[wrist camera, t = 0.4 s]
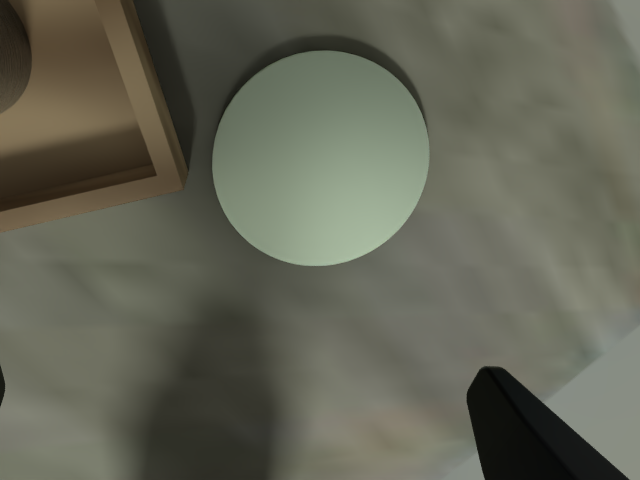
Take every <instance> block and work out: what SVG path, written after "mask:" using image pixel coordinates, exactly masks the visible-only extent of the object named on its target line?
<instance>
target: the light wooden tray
mask: <svg viewBox="0 0 640 480" xmlns="http://www.w3.org/2000/svg"><path fill="white" fill-rule="evenodd" d="M8 1H9V2H10V4H11V5H12V7H13V8H14V9H15V11H16V12H17V14H18V16H19V18H20V19H21V21H22V23H23V25H24V28H25V30H26V33H27V35H28V39H29V43H30V47H31V54H32V68H31V75H30V79H29V82H28V85H27V87H26V89H25V91H24V93H23V94H22V96H21V97H20V98H19V100H18V101H17V102H16V103H15V104H14V105H13V106H12V107H10V108H9V109H8V110H6V111H5V112H3V113H1V114H0V233H1V232H5V231H9V230H14V229H18V228H22V227H26V226H31V225H35V224H39V223H44V222H48V221H52V220H56V219H61V218H65V217H69V216H74V215H78V214H82V213H86V212H91V211H95V210H99V209H103V208H108V207H112V206H116V205H121V204H125V203H129V202H133V201H138V200H142V199H146V198H151V197H155V196H159V195H163V194H168V193H172V192H176V191H181V190H184V186H185V183H186V179H187V176H188V168H187V165H186V162H185V159H184V156H183V153H182V150H181V147H180V144H179V141H178V138H177V135H176V132H175V129H174V125H173V122H172V119H171V116H170V113H169V110H168V107H167V104H166V101H165V98H164V95H163V92H162V89H161V86H160V82H159V79H158V76H157V73H156V70H155V67H154V64H153V61H152V58H151V55H150V52H149V49H148V46H147V43H146V39H145V36H144V33H143V30H142V27H141V24H140V21H139V18H138V15H137V12H136V9H135V6H134V3H133V0H8Z"/></svg>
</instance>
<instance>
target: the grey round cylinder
mask: <svg viewBox="0 0 640 480" xmlns="http://www.w3.org/2000/svg"><path fill="white" fill-rule="evenodd" d="M31 68H32V54H31V47H30V43H29V39H28V35H27V33H26V30H25V28H24V25H23V23H22V21H21V19H20V18H19V16H18V14H17V12H16V11H15V9H14V8H13V7H12V5H11V4H10V2H9V1H8V0H0V114H1V113H3V112H5V111H6V110H8V109H9V108H10V107H12V106H13V105H14V104H15V103H16V102H17V101H18V100H19V98H20V97H21V96H22V94H23V93H24V91H25V89H26V87H27V85H28V82H29V79H30V75H31Z"/></svg>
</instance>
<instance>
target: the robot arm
mask: <svg viewBox="0 0 640 480" xmlns="http://www.w3.org/2000/svg"><path fill="white" fill-rule="evenodd" d="M4 392H5V381H4V377H3V373H2V369H1V366H0V406H1V403H2V400H3V397H4ZM467 405H468V410H469V414H470V419H471V423H472V428H473V432H474V437H475V441H476V446H477V450H478V455H479V459H480V463H481V467H482V471H483V474H484V478H485V480H629V479H628V478H627V477H626V476H625V475H624V474H623V473H621V472H620V471H619V470H618V469H617V468H616V467H615V466H614V465H612V464H611V463H610V462H609V461H608V460H607V459H606V458H604V457H603V456H602V455H601V454H600V453H599V452H598V451H596V450H595V449H594V448H593V447H592V446H591V445H590V444H589V443H587V442H586V441H585V440H584V439H583V438H582V437H581V436H580V435H579V434H577V433H576V432H575V431H574V430H573V429H572V428H571V427H569V426H568V425H567V424H566V423H565V422H564V421H563V420H562V419H560V418H559V417H558V416H557V415H556V414H555V413H554V412H552V411H551V410H550V409H549V408H548V407H547V406H546V405H545V404H544V403H542V402H541V401H540V400H539V399H538V398H537V397H536V396H534V395H533V394H532V393H531V392H530V391H529V390H528V389H527V388H525V387H524V386H523V385H522V384H521V383H520V382H519V381H518V380H516V379H515V378H514V377H513V376H512V375H511V374H510V373H508V372H507V371H506V370H505V369H503V368H501V367H494V366H484V367H482V368H481V369H480V370H479V372H478V373H477V375H476V377H475V378H474V380H473V382H472V384H471V385H470V387H469V389H468V391H467Z"/></svg>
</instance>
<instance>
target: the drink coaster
mask: <svg viewBox="0 0 640 480" xmlns="http://www.w3.org/2000/svg"><path fill="white" fill-rule="evenodd" d="M428 168H429V139H428V134H427V129H426V125H425V122H424V119H423V116H422V113H421V111H420V109H419V107H418V105H417V103H416V101H415V100H414V98H413V97H412V95H411V94H410V93H409V91H408V90H407V89H406V87H405V86H404V85H403V84H402V83H401V82H400V81H399V80H398V79H397V78H396V77H395V76H393V75H392V74H391V73H390V72H389V71H387V70H386V69H384V68H383V67H381V66H379V65H377V64H376V63H374V62H372V61H369V60H367V59H365V58H362V57H360V56H357V55H353V54H349V53H345V52H339V51H329V50H321V51H308V52H303V53H297V54H294V55H291V56H288V57H285V58H282V59H280V60H278V61H276V62H274V63H272V64H270V65H268V66H266V67H265V68H263V69H262V70H261V71H259V72H258V73H256V74H255V75H254V76H253V77H251V78H250V79H249V80H248V81H247V82H246V83H245V84H244V85H243V86H242V87H241V88H240V90H239V91H238V92H237V93H236V94H235V95H234V97H233V98H232V100H231V102H230V103H229V105H228V106H227V108H226V109H225V112H224V114H223V116H222V118H221V121H220V123H219V126H218V129H217V133H216V136H215V141H214V148H213V155H212V172H213V180H214V186H215V189H216V193H217V197H218V200H219V202H220V204H221V207H222V209H223V211H224V213H225V214H226V216H227V218H228V219H229V221H230V223H231V224H232V225H233V226H234V228H235V229H236V230H237V231H238V233H239V234H240V235H241V236H242V237H243V238H245V239H246V240H247V241H248V242H249V243H250V244H252V245H253V246H254V247H256V248H257V249H258V250H260V251H262V252H264V253H266V254H267V255H269V256H271V257H274V258H276V259H279V260H281V261H285V262H289V263H293V264H298V265H306V266H324V265H334V264H338V263H343V262H347V261H350V260H352V259H355V258H358V257H360V256H362V255H365V254H367V253H369V252H371V251H372V250H374V249H375V248H377V247H379V246H380V245H382V244H383V243H384V242H385V241H387V240H388V239H389V238H390V237H392V236H393V235H394V234H395V233H396V232H397V231H398V230H399V229H400V228H401V226H402V225H403V224H404V223H405V221H406V220H407V219H408V218H409V216H410V215H411V213H412V211H413V210H414V208H415V207H416V205H417V203H418V200H419V198H420V196H421V194H422V191H423V188H424V185H425V182H426V178H427V173H428Z"/></svg>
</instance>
